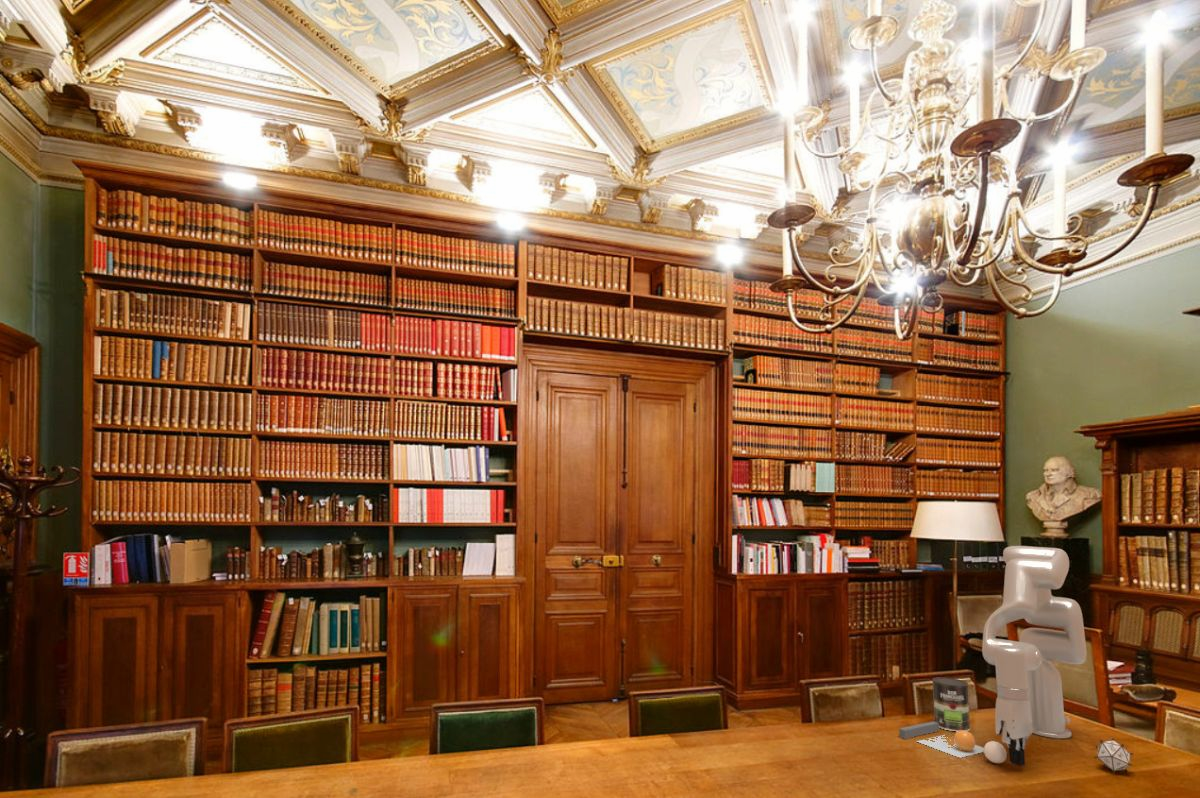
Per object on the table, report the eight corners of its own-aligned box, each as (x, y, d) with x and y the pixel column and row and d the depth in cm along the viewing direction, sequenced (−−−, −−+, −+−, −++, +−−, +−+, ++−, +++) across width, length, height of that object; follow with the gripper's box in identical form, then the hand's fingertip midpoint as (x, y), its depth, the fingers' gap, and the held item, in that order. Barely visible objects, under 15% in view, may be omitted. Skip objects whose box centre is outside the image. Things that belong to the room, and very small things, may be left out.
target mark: (945, 735, 207) (945, 734, 207) (990, 750, 195) (990, 749, 195) (916, 742, 201) (916, 741, 201) (959, 758, 188) (959, 757, 188)
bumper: (933, 729, 212) (932, 721, 212) (939, 731, 210) (938, 723, 211) (899, 737, 205) (899, 728, 205) (905, 739, 203) (904, 730, 203)
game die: (1125, 788, 180) (1146, 765, 175) (1091, 773, 182) (1111, 749, 177) (1115, 760, 187) (1135, 738, 183) (1082, 746, 190) (1101, 723, 185)
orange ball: (979, 753, 193) (961, 745, 198) (979, 733, 194) (962, 726, 199) (967, 755, 191) (949, 747, 196) (967, 735, 191) (950, 728, 196)
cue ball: (1013, 748, 185) (1006, 765, 186) (993, 735, 189) (987, 751, 190) (1003, 752, 182) (997, 770, 183) (983, 739, 186) (977, 756, 187)
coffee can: (972, 734, 208) (970, 687, 210) (936, 729, 212) (933, 683, 214) (968, 724, 218) (965, 679, 220) (933, 720, 221) (930, 675, 223)
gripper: (1015, 686, 191) (1019, 754, 188) (982, 692, 184) (987, 763, 181) (1042, 693, 184) (1047, 764, 182) (1010, 699, 177) (1015, 773, 175)
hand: (1017, 763), depth 181 cm, fingers closed
